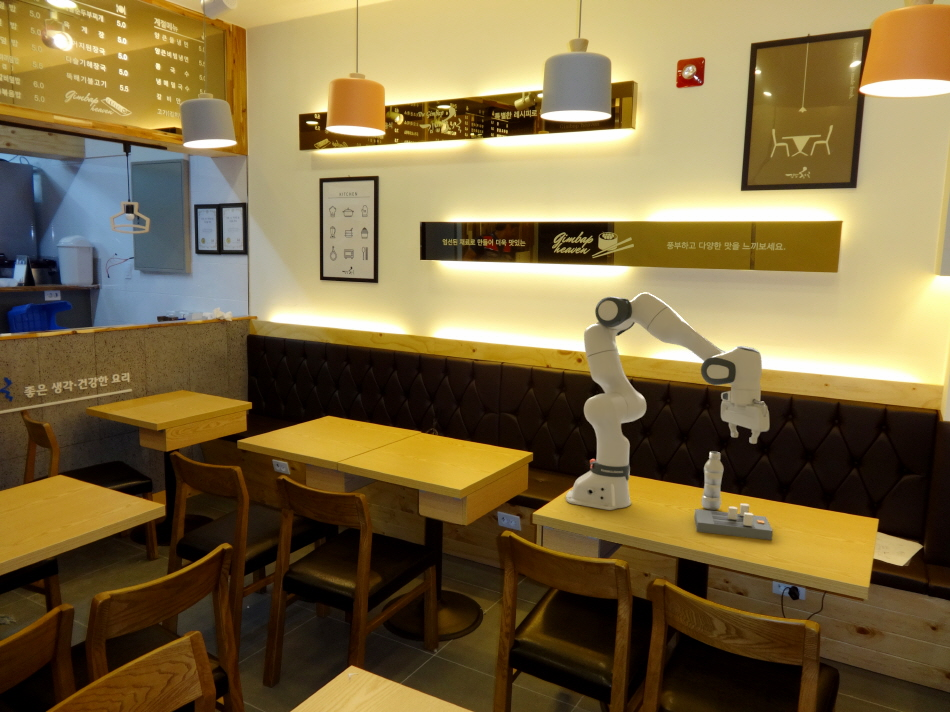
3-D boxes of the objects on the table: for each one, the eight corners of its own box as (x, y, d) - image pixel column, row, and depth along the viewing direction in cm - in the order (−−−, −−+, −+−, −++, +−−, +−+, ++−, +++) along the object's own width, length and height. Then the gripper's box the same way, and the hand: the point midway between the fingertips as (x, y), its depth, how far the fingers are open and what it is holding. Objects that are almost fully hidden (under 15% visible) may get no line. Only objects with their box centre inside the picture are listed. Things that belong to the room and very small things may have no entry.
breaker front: (743, 525, 217) (744, 514, 216) (743, 523, 219) (744, 512, 218) (752, 526, 216) (753, 515, 216) (751, 523, 218) (752, 513, 218)
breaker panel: (696, 531, 219) (697, 521, 219) (694, 517, 232) (695, 507, 232) (771, 540, 214) (772, 529, 214) (765, 525, 227) (765, 515, 226)
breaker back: (740, 515, 225) (741, 505, 225) (739, 513, 227) (740, 503, 227) (748, 516, 225) (749, 506, 224) (747, 514, 227) (748, 504, 226)
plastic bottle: (717, 506, 244) (722, 450, 242) (722, 513, 238) (727, 455, 235) (698, 505, 245) (703, 449, 242) (703, 511, 238) (707, 454, 236)
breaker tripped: (728, 518, 222) (729, 508, 222) (728, 516, 224) (728, 506, 224) (736, 519, 221) (737, 509, 221) (736, 517, 223) (736, 507, 223)
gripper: (775, 402, 213) (773, 446, 214) (734, 392, 233) (732, 433, 234) (758, 402, 212) (755, 447, 213) (718, 393, 231) (716, 434, 233)
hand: (743, 440), depth 224 cm, fingers open, 8 cm apart
